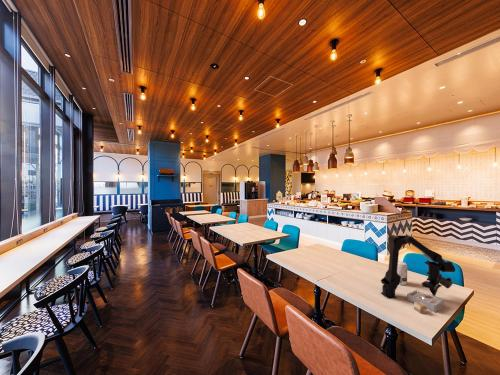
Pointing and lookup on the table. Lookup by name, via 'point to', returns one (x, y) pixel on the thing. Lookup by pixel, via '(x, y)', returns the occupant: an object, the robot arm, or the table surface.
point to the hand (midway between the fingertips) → (434, 295)
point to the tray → (436, 299)
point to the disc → (426, 298)
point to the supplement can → (402, 272)
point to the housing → (425, 302)
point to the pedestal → (420, 307)
